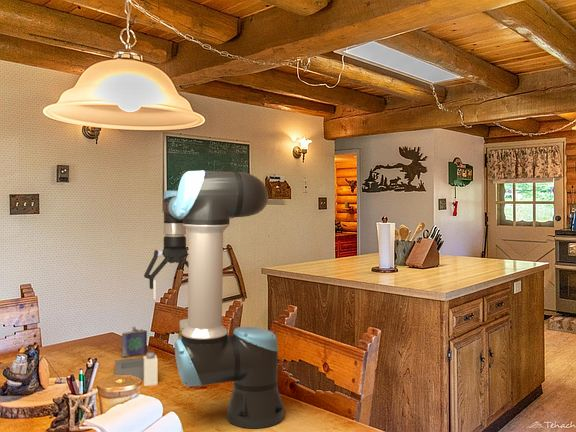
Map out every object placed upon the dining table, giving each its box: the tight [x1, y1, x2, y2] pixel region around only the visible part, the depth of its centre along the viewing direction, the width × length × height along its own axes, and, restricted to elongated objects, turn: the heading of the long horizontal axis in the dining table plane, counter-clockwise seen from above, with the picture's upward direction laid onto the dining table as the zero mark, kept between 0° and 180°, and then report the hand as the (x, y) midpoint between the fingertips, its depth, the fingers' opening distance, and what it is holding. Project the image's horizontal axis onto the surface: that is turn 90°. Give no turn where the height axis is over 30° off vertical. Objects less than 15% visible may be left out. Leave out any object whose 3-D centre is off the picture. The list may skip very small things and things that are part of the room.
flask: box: [121, 326, 148, 359], centre depth 188 cm, size 9×3×11 cm, turn 122°
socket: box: [114, 357, 143, 380], centre depth 167 cm, size 14×13×4 cm
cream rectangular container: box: [142, 351, 159, 387], centre depth 158 cm, size 5×4×10 cm
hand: (174, 297), depth 170 cm, fingers open, 13 cm apart
